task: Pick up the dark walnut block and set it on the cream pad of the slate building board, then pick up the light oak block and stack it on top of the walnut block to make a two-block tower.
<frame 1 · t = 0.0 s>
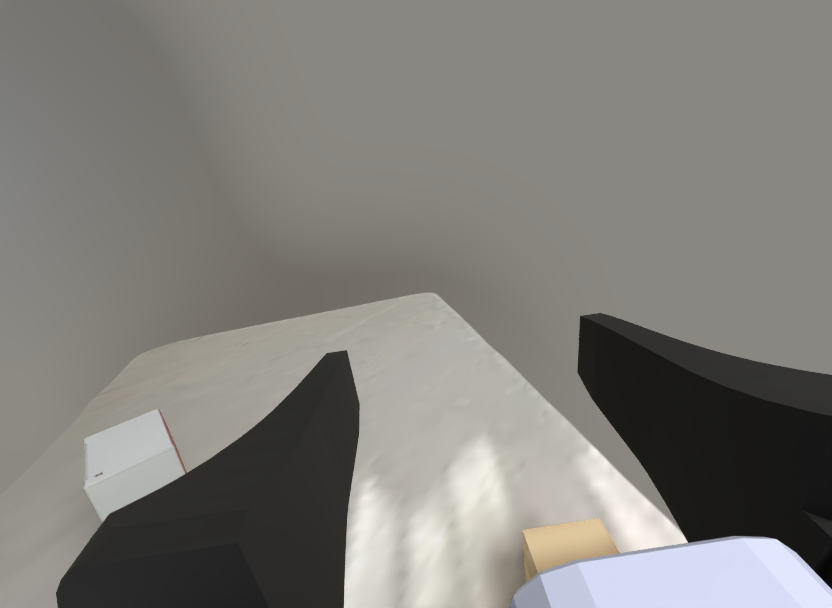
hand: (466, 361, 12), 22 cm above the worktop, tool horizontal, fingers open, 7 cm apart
small box: (172, 542, 34), on the worktop
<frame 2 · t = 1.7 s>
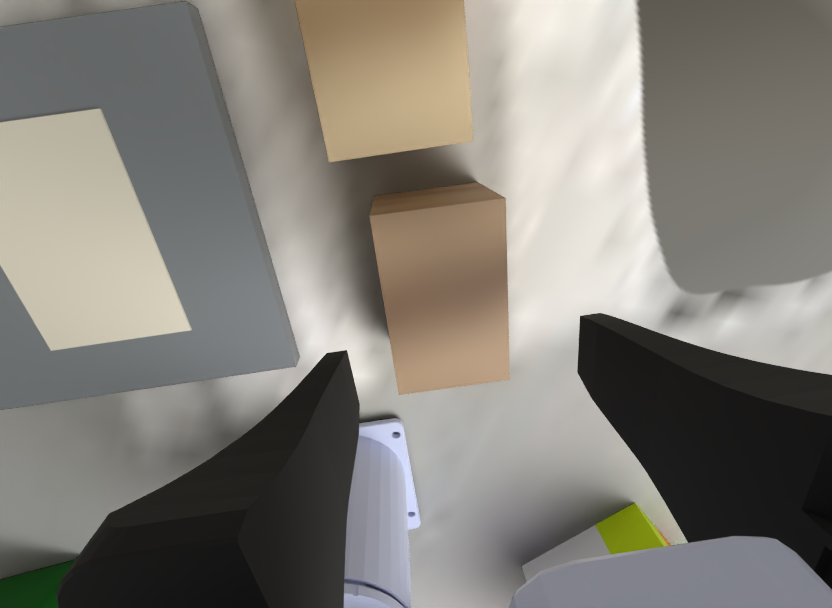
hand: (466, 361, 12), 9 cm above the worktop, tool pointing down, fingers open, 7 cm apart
oak block: (383, 44, 16), on the worktop
puzzle toy: (605, 562, 32), on the worktop
building board: (89, 237, 19), on the worktop
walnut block: (433, 267, 20), on the worktop
milk carton: (74, 593, 29), on the worktop
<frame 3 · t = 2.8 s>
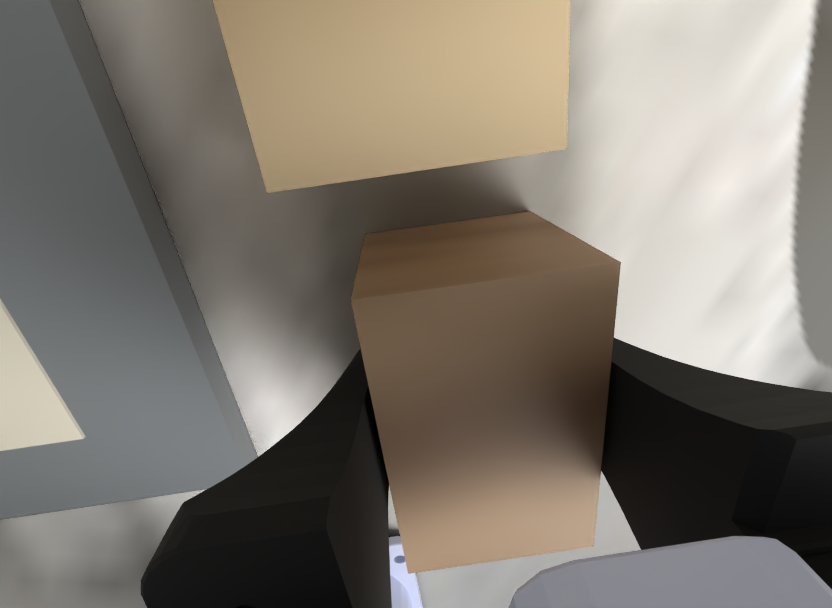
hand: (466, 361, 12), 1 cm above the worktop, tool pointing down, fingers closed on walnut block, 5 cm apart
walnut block: (458, 338, 13), on the worktop, touching gripper
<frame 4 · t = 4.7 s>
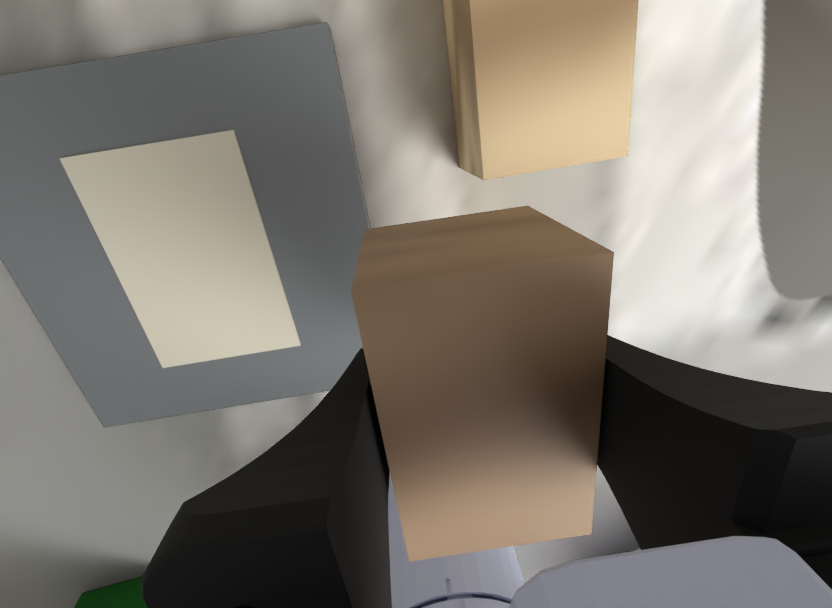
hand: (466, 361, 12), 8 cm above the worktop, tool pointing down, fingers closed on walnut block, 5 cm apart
oak block: (508, 57, 16), on the worktop
building board: (204, 255, 19), on the worktop
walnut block: (457, 332, 14), point 7 cm above the worktop, touching gripper
milk carton: (156, 604, 29), on the worktop
when the fingers open (3 cm above the worktop, at t = 6.8 s): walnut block stays where it is, resting on building board.
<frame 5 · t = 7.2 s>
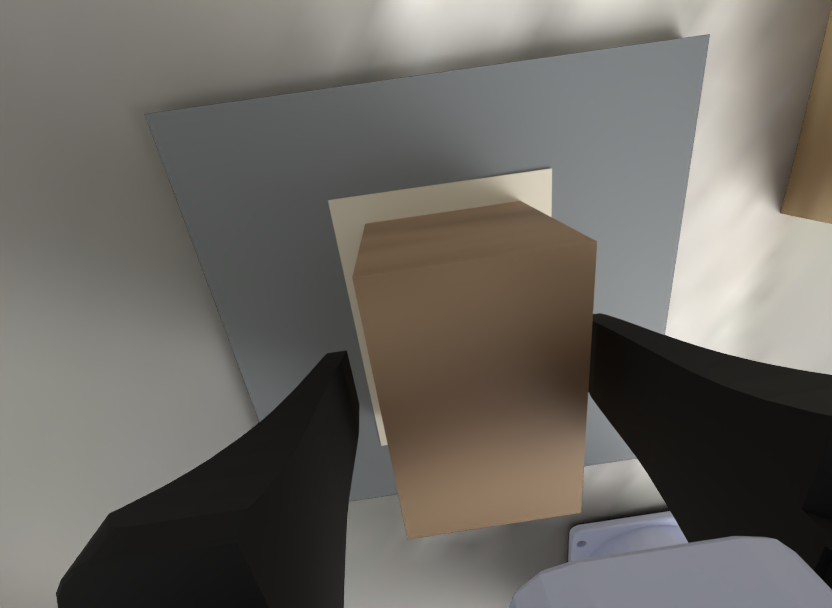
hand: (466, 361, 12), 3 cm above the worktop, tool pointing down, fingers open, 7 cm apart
building board: (450, 313, 15), on the worktop
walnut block: (454, 323, 14), point 1 cm above the worktop, touching building board
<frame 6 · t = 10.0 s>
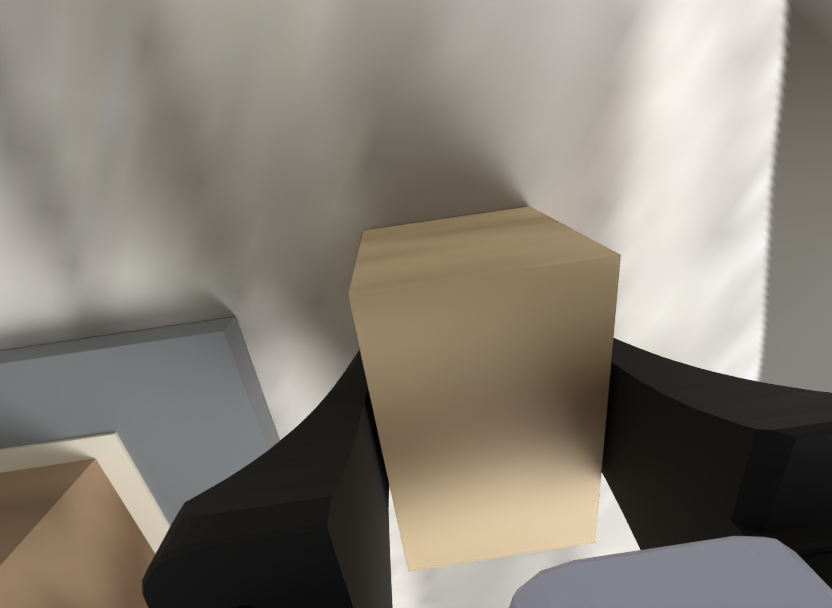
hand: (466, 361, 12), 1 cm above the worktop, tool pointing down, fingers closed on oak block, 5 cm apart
oak block: (458, 335, 13), on the worktop, touching gripper
building board: (100, 523, 16), on the worktop
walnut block: (78, 548, 15), point 1 cm above the worktop, touching building board
when the fingers open (8 cm above the worktop, at t = 13.8 s): oak block stays where it is, resting on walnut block.
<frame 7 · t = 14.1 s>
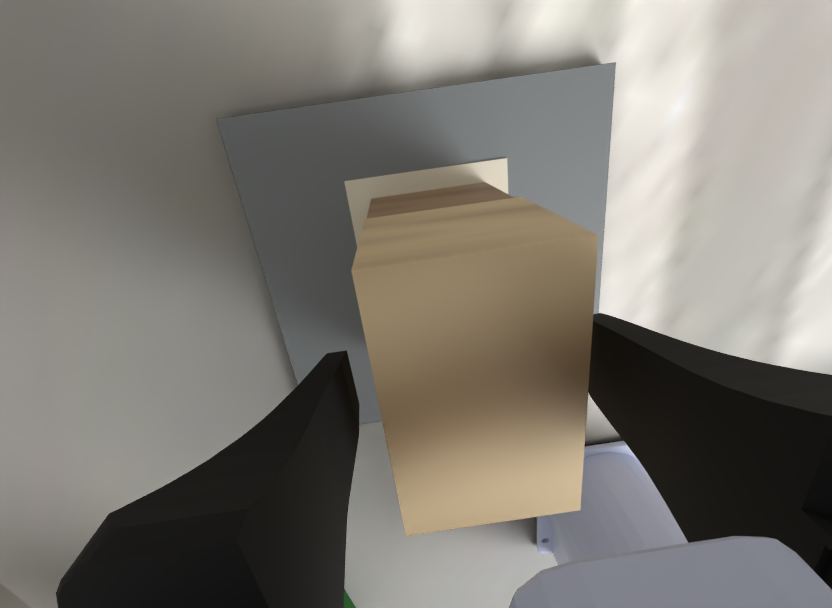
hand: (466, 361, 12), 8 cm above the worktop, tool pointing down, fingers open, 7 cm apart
oak block: (453, 320, 14), point 6 cm above the worktop, touching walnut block
building board: (435, 271, 20), on the worktop
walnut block: (438, 276, 19), point 1 cm above the worktop, touching building board, oak block
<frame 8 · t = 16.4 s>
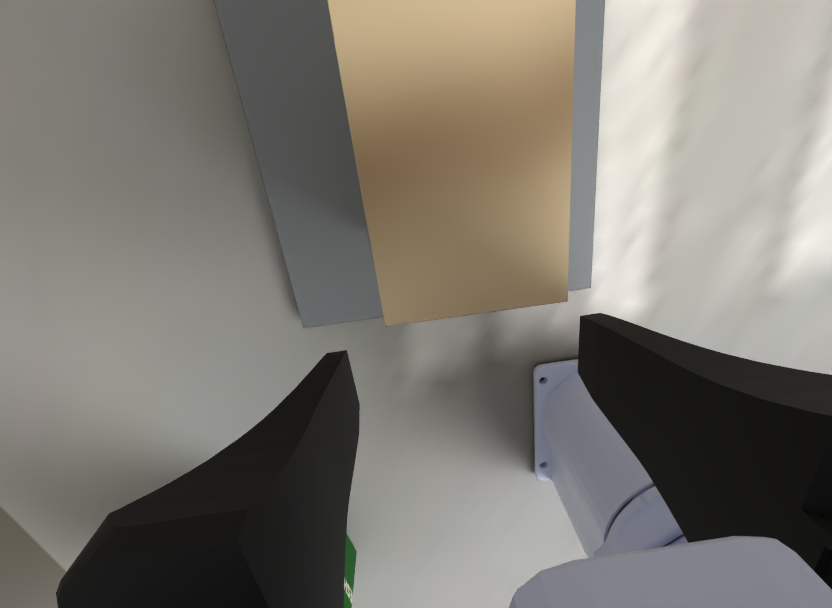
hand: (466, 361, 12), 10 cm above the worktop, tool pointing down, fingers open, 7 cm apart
oak block: (441, 151, 14), point 6 cm above the worktop, touching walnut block
building board: (428, 153, 19), on the worktop
milk carton: (295, 530, 30), on the worktop
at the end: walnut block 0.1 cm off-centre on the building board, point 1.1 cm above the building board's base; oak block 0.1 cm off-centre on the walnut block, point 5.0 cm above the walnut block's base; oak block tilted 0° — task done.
